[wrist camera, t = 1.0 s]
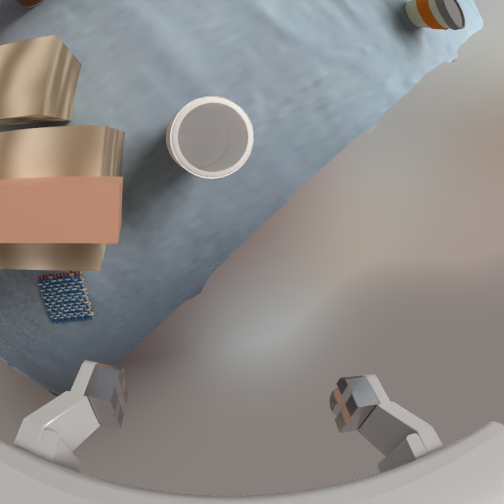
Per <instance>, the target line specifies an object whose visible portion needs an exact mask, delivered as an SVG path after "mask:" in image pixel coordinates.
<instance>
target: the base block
mask: <svg viewBox="0 0 504 504" xmlns="http://www.w3.org/2000/svg"><path fill="white" fill-rule="evenodd" d="M80 68H81V64H80V62H79V61H78V60H77V59H76V57H75V56H74V55H73V54H72V53H71V51H70V50H69V49H68V48H67V46H66V45H65V44H64V43H63V42H62V40H61V39H60V38H59V37H58V35H53V36H46V37H39V38H33V39H28V40H23V41H18V42H13V43H9V44H5V45H1V46H0V125H20V124H29V123H40V122H54V121H71V117H72V110H73V104H74V98H75V92H76V87H77V82H78V77H79V73H80Z"/></svg>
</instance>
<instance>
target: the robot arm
mask: <svg viewBox="0 0 504 504" xmlns="http://www.w3.org/2000/svg"><path fill="white" fill-rule="evenodd" d="M124 377H125V373H124V369H123V368H119V367H114V366H110V365H105V364H101V363H96V362H92V361H88V360H85V361H84V362H83V363H82V365H81V368H80V370H79V372H78V374H77V377H76V379H75V381H74V384H73V386H72V388H71V391H70V392H69V391H66V392H64V393H63V394H61V395H60V396H58V397H57V398H55V399H53V400H52V401H50V402H49V403H47V404H46V405H44V406H43V407H41V408H40V409H38V410H37V411H35V412H33V413H32V414H30V415H29V416H27V417H26V418H24V420H23V422H22V425H21V427H20V429H19V432H18V434H17V437H16V439H15V442H14V445H12V444H10V443H8V442H6V441H4V440H2V439H1V438H0V504H504V426H503V425H502V424H500V423H497V422H495V421H493V422H489V423H487V424H486V425H484V426H482V427H481V428H479V429H477V430H476V431H474V432H472V433H470V434H469V435H467V436H465V437H463V438H461V439H459V440H458V441H456V442H454V443H452V444H450V445H448V446H446V447H443V445H442V443H441V441H440V440H439V438H438V436H437V434H436V432H435V431H434V429H433V427H432V426H431V425H429V424H427V423H426V422H424V421H423V420H421V419H420V418H418V417H416V416H415V415H413V414H412V413H410V412H408V411H407V410H405V409H404V408H402V407H401V406H399V405H398V404H396V403H395V402H390V400H389V399H388V397H387V395H386V393H385V391H384V390H383V388H382V386H381V384H380V382H379V381H378V379H377V377H376V376H375V375H374V374H372V375H363V376H353V377H344V378H341V379H339V381H338V382H337V386H338V388H336V389H335V390H333V392H332V394H331V396H330V407H331V410H332V412H333V413H334V414H335V415H337V417H336V419H335V422H336V424H337V427H338V430H339V432H340V433H341V432H348V431H355V430H358V432H359V433H360V434H361V435H362V436H364V437H365V438H366V439H367V440H368V441H369V442H370V443H371V444H372V445H374V446H375V447H376V448H377V449H378V450H379V451H380V452H381V453H382V454H384V455H385V456H386V457H385V458H384V459H383V460H382V461H381V462H379V464H378V468H379V471H380V473H378V474H374V475H371V476H367V477H364V478H360V479H356V480H352V481H348V482H344V483H340V484H336V485H331V486H326V487H321V488H315V489H309V490H303V491H296V492H288V493H278V494H267V495H249V496H208V495H191V494H180V493H170V492H162V491H155V490H149V489H143V488H138V487H133V486H127V485H123V484H118V483H114V482H110V481H106V480H102V479H98V478H95V477H92V476H88V475H85V474H82V473H80V469H81V463H80V461H79V460H78V459H77V458H76V457H75V455H74V454H73V453H72V451H73V450H74V449H75V448H76V447H77V446H79V445H80V443H82V442H83V441H84V440H85V439H86V438H87V437H88V436H89V435H90V434H91V433H92V432H93V431H94V430H95V429H96V428H98V426H99V424H101V425H106V426H111V427H117V428H121V425H122V421H123V416H124V413H123V410H122V408H123V407H124V406H126V403H127V399H128V386H127V382H126V381H125V380H124Z"/></svg>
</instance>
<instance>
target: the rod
mask: <svg viewBox="0 0 504 504" xmlns="http://www.w3.org/2000/svg"><path fill="white" fill-rule="evenodd" d="M122 191H123V177H110V176H71V177H37V178H18V179H3V180H0V243H118V241H119V235H120V230H121V214H122Z"/></svg>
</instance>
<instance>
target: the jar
mask: <svg viewBox="0 0 504 504" xmlns="http://www.w3.org/2000/svg"><path fill="white" fill-rule="evenodd" d="M253 143H254V131H253V126H252V123H251V121H250V118H249V117H248V115H247V113H246V112H245V111H244V110H243V109H242V108H241V107H240V106H239V105H238V104H236V103H235V102H233V101H231V100H229V99H227V98H224V97H219V96H206V97H201V98H198V99H195V100H193V101H191V102H190V103H188V104H187V105H186V106H184V107H183V108H181V109H180V110H179V111H178V112H177V113H176V114H175V115H174V116H173V117H172V119H171V120H170V122H169V124H168V127H167V131H166V144H167V148H168V151H169V153H170V155H171V157H172V158H173V159H174V161H175V162H176V163H177V164H179V165H180V166H181V167H183V168H184V169H186V170H187V171H189V172H190V173H192V174H194V175H196V176H199V177H203V178H221V177H224V176H227V175H230V174H232V173H233V172H235V171H237V170H238V169H239V168H240V167H241V166H242V165H243V164H244V163H245V162H246V160H247V159H248V157H249V156H250V153H251V151H252V148H253Z"/></svg>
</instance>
